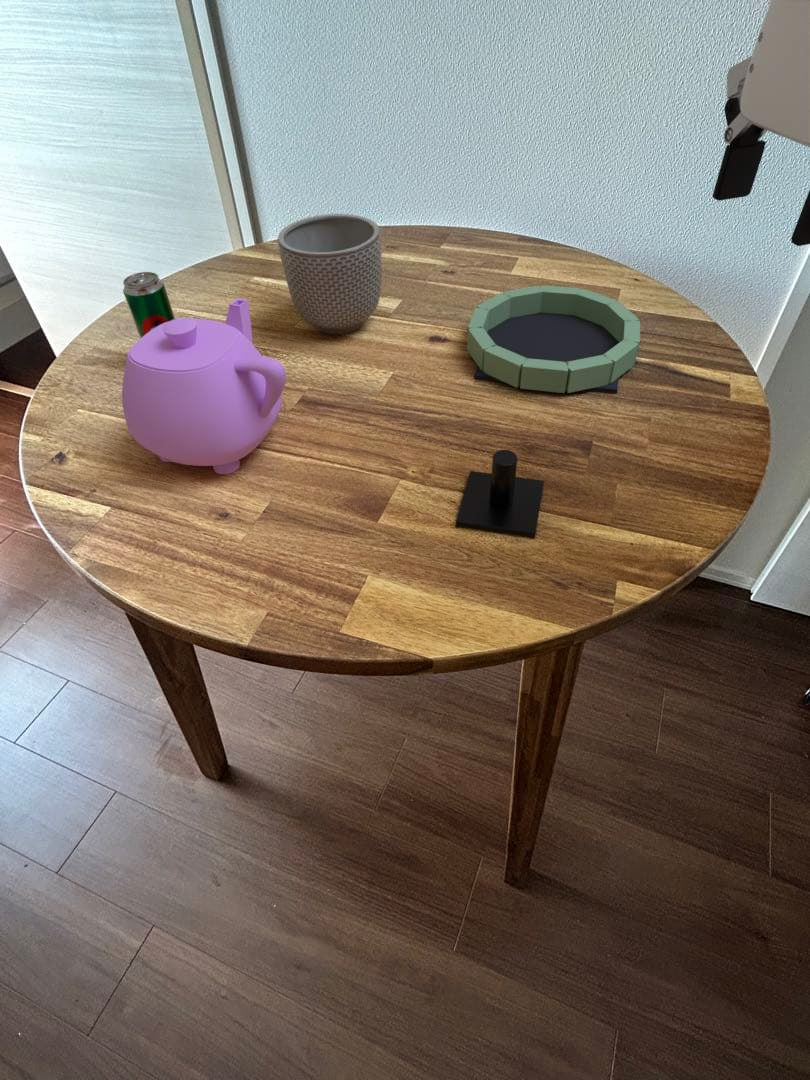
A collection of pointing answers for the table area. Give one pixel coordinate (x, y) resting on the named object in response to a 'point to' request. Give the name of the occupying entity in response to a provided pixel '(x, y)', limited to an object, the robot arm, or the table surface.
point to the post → (501, 499)
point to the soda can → (147, 301)
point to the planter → (333, 269)
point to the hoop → (546, 371)
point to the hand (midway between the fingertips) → (768, 218)
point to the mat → (552, 340)
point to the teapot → (202, 391)
